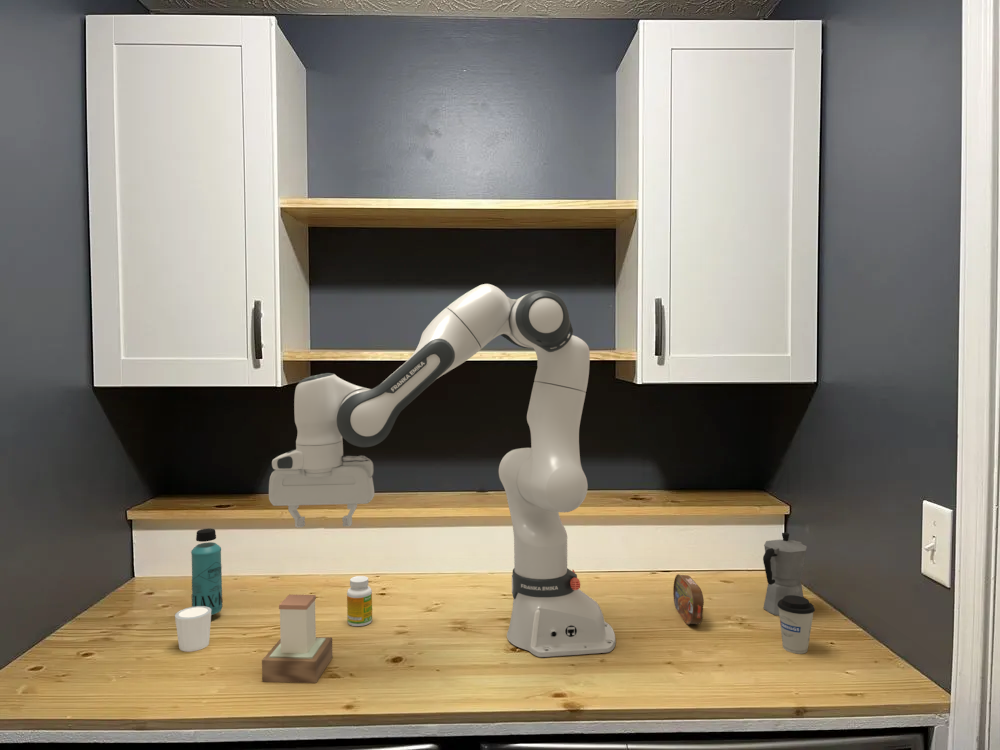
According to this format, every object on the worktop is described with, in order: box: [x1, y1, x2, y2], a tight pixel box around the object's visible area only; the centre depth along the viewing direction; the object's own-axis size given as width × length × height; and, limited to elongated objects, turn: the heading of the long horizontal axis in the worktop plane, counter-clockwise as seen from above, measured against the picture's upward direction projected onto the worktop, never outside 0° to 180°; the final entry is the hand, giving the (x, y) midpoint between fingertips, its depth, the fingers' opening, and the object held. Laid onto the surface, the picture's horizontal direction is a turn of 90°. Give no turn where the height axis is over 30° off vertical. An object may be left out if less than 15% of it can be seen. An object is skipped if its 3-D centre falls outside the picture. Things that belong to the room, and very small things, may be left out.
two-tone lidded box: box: [278, 594, 317, 653], centre depth 130 cm, size 5×5×9 cm
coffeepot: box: [762, 531, 808, 617], centre depth 156 cm, size 15×9×18 cm, turn 129°
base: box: [261, 636, 334, 684], centre depth 130 cm, size 10×10×4 cm
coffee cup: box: [777, 595, 816, 655], centre depth 137 cm, size 7×7×10 cm
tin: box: [672, 574, 705, 625], centre depth 153 cm, size 15×3×8 cm, turn 1°
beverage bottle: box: [190, 528, 224, 616], centre depth 154 cm, size 6×7×20 cm
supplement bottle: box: [346, 575, 373, 627], centre depth 151 cm, size 5×5×10 cm
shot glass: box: [174, 606, 212, 653], centre depth 140 cm, size 7×7×7 cm
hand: (323, 526), depth 135 cm, fingers open, 8 cm apart
